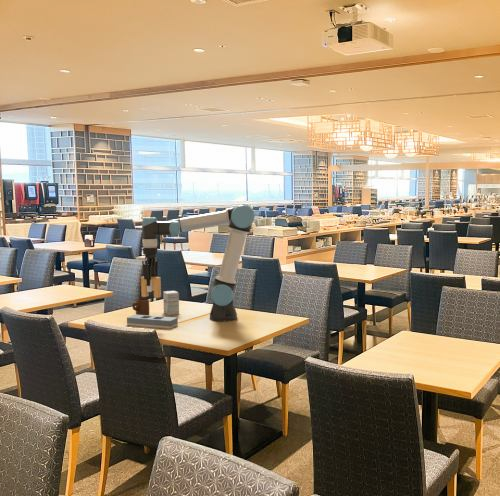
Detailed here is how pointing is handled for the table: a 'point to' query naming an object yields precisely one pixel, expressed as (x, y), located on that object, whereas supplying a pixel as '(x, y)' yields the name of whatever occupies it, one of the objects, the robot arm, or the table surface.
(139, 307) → the mug
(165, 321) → the rail
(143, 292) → the tall wooden block
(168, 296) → the supplement box
